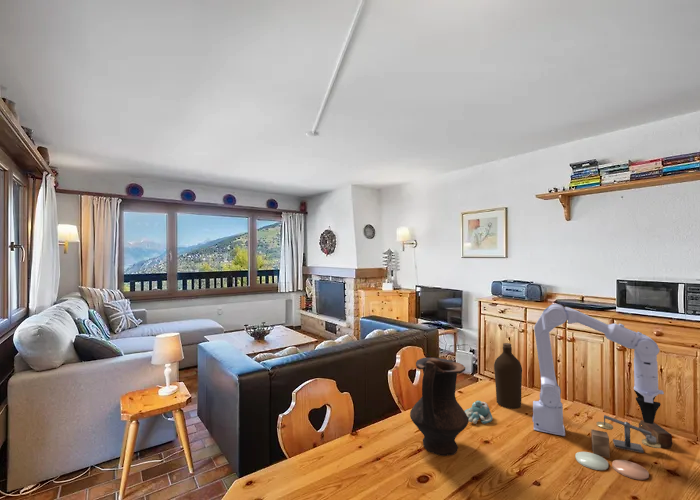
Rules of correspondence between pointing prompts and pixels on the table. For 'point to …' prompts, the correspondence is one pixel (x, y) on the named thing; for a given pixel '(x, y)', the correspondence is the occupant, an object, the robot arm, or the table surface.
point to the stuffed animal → (479, 412)
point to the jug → (439, 406)
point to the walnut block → (600, 443)
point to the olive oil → (508, 379)
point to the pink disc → (630, 469)
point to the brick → (657, 434)
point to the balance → (626, 444)
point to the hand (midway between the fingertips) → (647, 418)
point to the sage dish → (591, 461)
